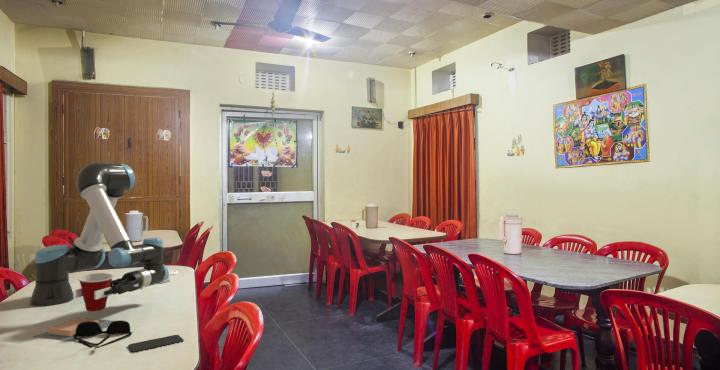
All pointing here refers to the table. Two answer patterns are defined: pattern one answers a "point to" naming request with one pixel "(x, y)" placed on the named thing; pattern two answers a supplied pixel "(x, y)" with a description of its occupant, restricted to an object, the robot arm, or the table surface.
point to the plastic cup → (94, 289)
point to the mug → (171, 272)
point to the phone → (155, 343)
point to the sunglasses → (94, 329)
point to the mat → (45, 335)
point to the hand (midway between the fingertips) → (85, 294)
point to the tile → (67, 327)
